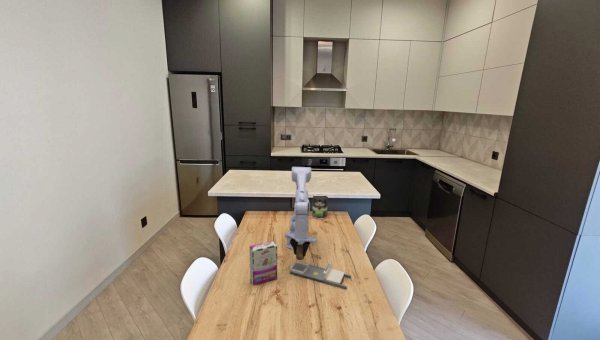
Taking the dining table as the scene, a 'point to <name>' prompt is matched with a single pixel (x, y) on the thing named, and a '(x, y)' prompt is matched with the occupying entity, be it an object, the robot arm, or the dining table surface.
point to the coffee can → (320, 207)
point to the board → (312, 273)
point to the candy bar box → (263, 262)
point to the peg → (299, 252)
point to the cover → (332, 275)
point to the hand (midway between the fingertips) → (300, 254)
